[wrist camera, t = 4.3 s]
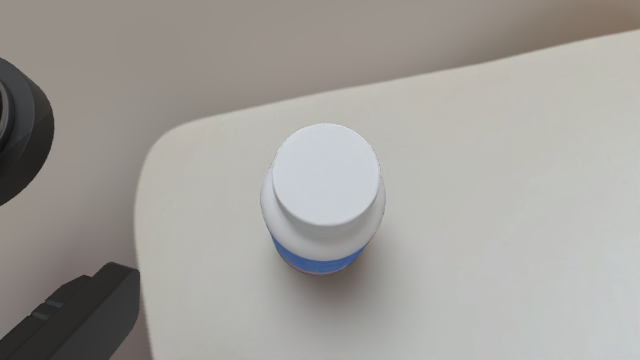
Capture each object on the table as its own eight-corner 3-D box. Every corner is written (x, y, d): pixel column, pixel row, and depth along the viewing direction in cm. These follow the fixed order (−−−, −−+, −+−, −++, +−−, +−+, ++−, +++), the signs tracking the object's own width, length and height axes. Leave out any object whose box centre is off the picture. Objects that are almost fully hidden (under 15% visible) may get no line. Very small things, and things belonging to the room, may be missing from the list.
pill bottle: (371, 270, 23) (414, 242, 14) (277, 281, 23) (256, 260, 14) (357, 179, 25) (387, 101, 16) (269, 188, 25) (246, 113, 15)
